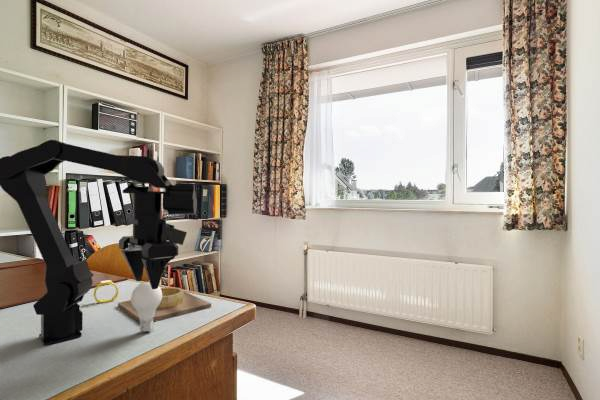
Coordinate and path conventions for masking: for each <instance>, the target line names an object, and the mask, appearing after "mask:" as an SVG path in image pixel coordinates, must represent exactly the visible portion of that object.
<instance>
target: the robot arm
mask: <svg viewBox="0 0 600 400" xmlns="http://www.w3.org/2000/svg"><path fill="white" fill-rule="evenodd" d="M64 162H70V163H74V164H79V165H83V166H87V167H93V168H96V169H97V168H98V169H102V170H105V171H111V172H114V173H116V174H118V175H121V176H123V177H125V178H128V179H130V180H132V181H133V180H134V181H135V182H138V183H141V184H147V185H148V186H143V185H139V186H138V185H137V184H136V183H135V182H130V183H129V185H128V186H126V187H125V188H124V189H123V190H122V193H123V194H132V195H133V198H132V199H133V201H132V202H133V203H132V209H133V210H132V218H130V219H129V224H132V235H126V236H122V237H121V238H120V239H119V240H118V249H119V250H120V253H122V255H123V257H124V259H125V261H126V263H127V266H128V267H129V270H130V271H131V273H132V276H133V277H134V280H135V281H136V282H141V281H142V279H143V274H144V270H145V273H146V276H147V278H148V282H150V285H151V288H152V289H157V288H158V286H159V287H160V282H161V280H162V276H163V274H164V271H165V268H166V265H167V264H168V263H169V262H171V261H172V260H175V258H176V257H177V256H179V246H178V245H181V246H183V245H184V242H185V240H186V237H187V233H188V232H187V231H183V230H181V229H177V228H175V225H174V224H170V223H167V221H166V218H162V209H163V210H164V211H167V213H168V215H196V214H197V210H198V209H197V205H198V199H197V194H196V185H195V184H172V183H171V181H170V180H169V179H168V178H167V177H166V175H165V170H164V169H165V168H164V166H163V165H162V163H161V162H160V161H158V160H156V159H154V158H152V157H150V156H145V155H129V154H128V155H126V154H125V155H120V154H114V153H113V154H112V153H108V152H104V151H101V150H100V151H99V150H95V149H92V148H91V149H90V148H87V147H86V148H85V147H82V146H77V145H74V144H69V143H65V142H62V141H59V140H56V139H48V140H46V141H43V142H42V143H39V144H38V145H36V146H33V147H30V148H25V149H24V150H20V151H17V152H16V153H14V154H13V155H7V156H6V155H5V156H2V157H0V188H1V189H2V190H3V192H5V193H6V194H7V195H8V196H10V197H11V198H12V199H13V201H15V202H16V203H17V205H18V208H19V209H20V211H21V214H22V215H23V218H24V220H25V223H26V224H27V226H28V229H29V231H30V233H31V236H32V238H33V240H34V242H35V244H36V247H37V249H38V252H39V253H40V255H41V257H42V260H43V262H44V263H45V273H44V285H45V287H46V288H45V289H46V293H45V294H44V295H43V296H42V297H40V298H39V299H38V300H37V301H36V302H35V303H33V309H34V311H35V313H36V315H37V316H39V315H40V333H39V335H38V336H39V339H40V341H41V343H42V345H43V346H46V345H52V344H55V343H60V342H64V341H67V340H72V339H76V338H79V337H82V335H83V333H82V331H83V314H84V313H83V311H82V310H81V309H80V305H79V303H80V302H82V301H83V299H84V297H85V295H86V294H87V293H89V291H90V290H91V288H92V286H93V282H94V281H93V279H92V277H94V276H95V275H94V273H93V272H92V271H91V270H90V268H89V263H88V261H87V259H83V260H80V261H78V260H77V259H76V258H75V257H74V256H73V254H72V253H71V250H70V248H69V245H68V244H67V242H66V240H65V237H64V235H63V233H62V231H61V228H60V225H59V224H58V222H57V219H56V218H55V215H54V213H53V210H52V208H51V207H50V204H49V201H48V199H47V197H46V190H47V180H46V175H48V174H50V173H51V172H54V170H55V169H56V168H57V167H58V166H60V164H61V163H64ZM149 185H151V186H149ZM152 187H153V188H156V189H165V190H164V191H159V190H158V191H154V190H153V188H152Z"/></svg>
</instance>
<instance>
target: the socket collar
mask: <svg viewBox="0 0 600 400" xmlns="http://www.w3.org/2000/svg"><path fill="white" fill-rule="evenodd" d="M160 288H161V290H162V300H161V302H160V304H159V306H158V307H157V309H166V308H171V307H175V306H178V305H180V304H182V303H183V301H184V292H185V290H184V289H182V288H180V287H173V286H171V287H169V286H168V287H160Z"/></svg>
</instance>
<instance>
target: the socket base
mask: <svg viewBox="0 0 600 400" xmlns="http://www.w3.org/2000/svg"><path fill="white" fill-rule="evenodd" d="M117 307H118V308H120V310H122V311H123V312H125V313H126V314H128V315H129V316H130V317H132V318H133V319H134V320H136V321H137V322H139V323H140V319H139V316H138V312H137V311H136V309H135V308H134V307H133V305H132V303H131V299H130V300H126V301H121V302H117ZM211 307H212V303H211V302H209V301H207V300H204V299H203V298H200V297H197V296H195V295H194V294H191V293H188V292H186V291H184V301H183V303H182V304H180V305H178V306H175V307H171V308H166V309H156V311H155V315H154V317H153V323H154V322H156V321H157V322H158V321H162V320H165V319H169V318H174V317H178V316H181V315H185V314H189V313H194V312H198V311H201V310H205V309H209V308H211Z"/></svg>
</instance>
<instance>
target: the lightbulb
mask: <svg viewBox="0 0 600 400" xmlns="http://www.w3.org/2000/svg"><path fill="white" fill-rule="evenodd" d="M161 288H162V287H161V286H160V285H159V286H158V288H157V289H152V288H151V285H150V282H149V281H143V282H141V283H139V284H138V285H136V286H135V287H134V289H133V290H132V292H131V294H130V300H131V303H132V305H133V307H134V308H135V309H136V311H137V312H138V316H139V319H140V322H139V323H140V324H139V331H140V332H142V333H149V332H150V331H152V330H153V329H154V322H153V317H154V315H155V311H156V309H157V307H158V306H159V304H160V302H161V300H162V290H161Z"/></svg>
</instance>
